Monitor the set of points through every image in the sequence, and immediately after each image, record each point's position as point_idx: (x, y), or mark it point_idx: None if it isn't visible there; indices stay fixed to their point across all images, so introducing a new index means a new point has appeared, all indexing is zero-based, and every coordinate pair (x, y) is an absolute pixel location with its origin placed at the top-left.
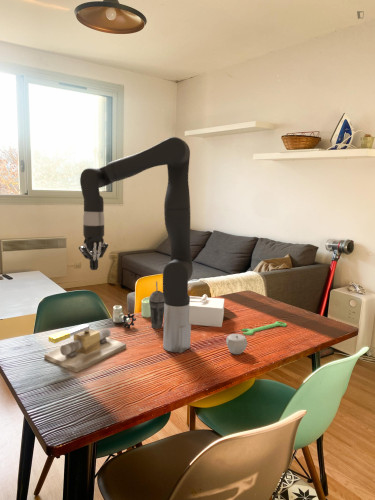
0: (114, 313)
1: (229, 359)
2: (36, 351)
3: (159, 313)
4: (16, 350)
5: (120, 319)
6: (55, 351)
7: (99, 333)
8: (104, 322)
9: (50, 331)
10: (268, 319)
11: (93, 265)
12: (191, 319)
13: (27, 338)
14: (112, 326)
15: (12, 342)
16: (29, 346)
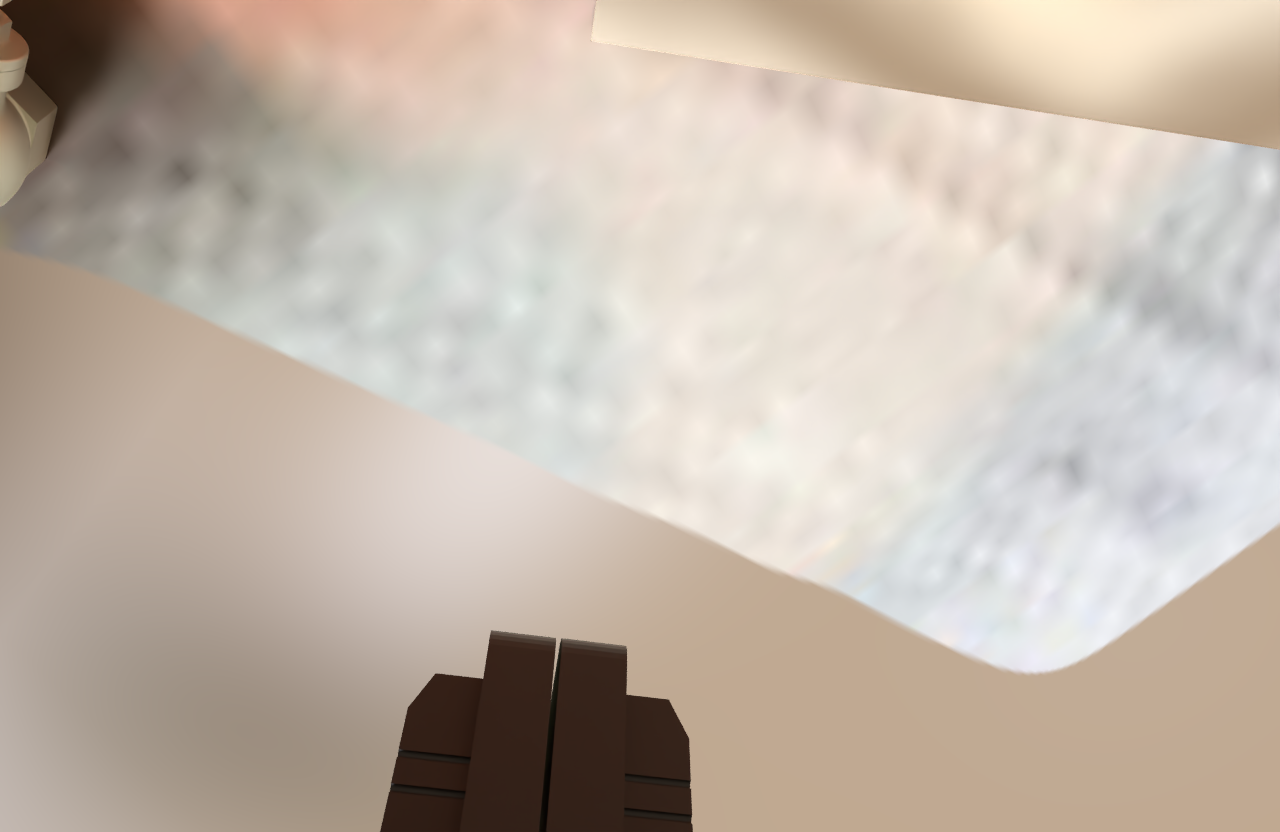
0: (3, 166)
1: None
2: (1180, 321)
3: None
4: (1210, 478)
5: (11, 30)
6: (1246, 103)
7: None
8: (153, 229)
9: (708, 528)
10: None
11: (635, 796)
12: None
13: (942, 577)
14: (181, 56)
15: (1066, 612)
16: (1096, 448)
